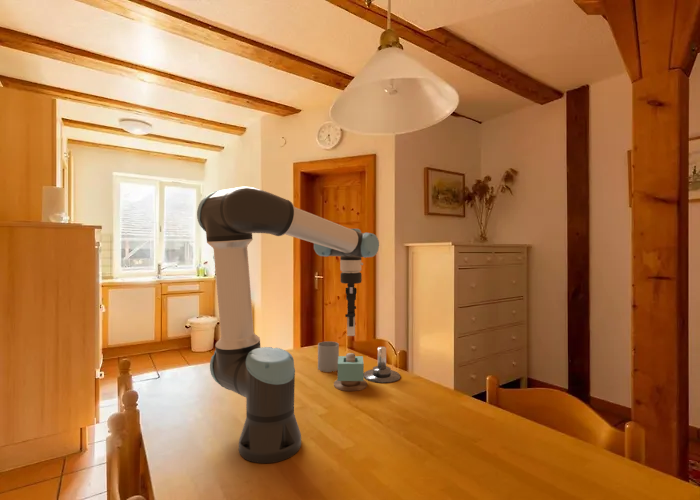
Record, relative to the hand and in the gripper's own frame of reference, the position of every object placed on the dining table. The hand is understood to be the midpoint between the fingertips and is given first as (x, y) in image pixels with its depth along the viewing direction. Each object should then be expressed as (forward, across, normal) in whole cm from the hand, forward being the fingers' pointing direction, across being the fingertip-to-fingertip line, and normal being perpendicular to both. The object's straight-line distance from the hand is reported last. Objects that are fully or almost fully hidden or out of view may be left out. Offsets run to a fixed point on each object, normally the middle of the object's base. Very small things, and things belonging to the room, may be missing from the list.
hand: (351, 331), depth 137 cm
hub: (+19, +9, -12) cm, 24 cm away
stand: (+19, 0, 0) cm, 19 cm away
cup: (+20, +18, +9) cm, 28 cm away
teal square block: (+16, 0, 0) cm, 16 cm away
